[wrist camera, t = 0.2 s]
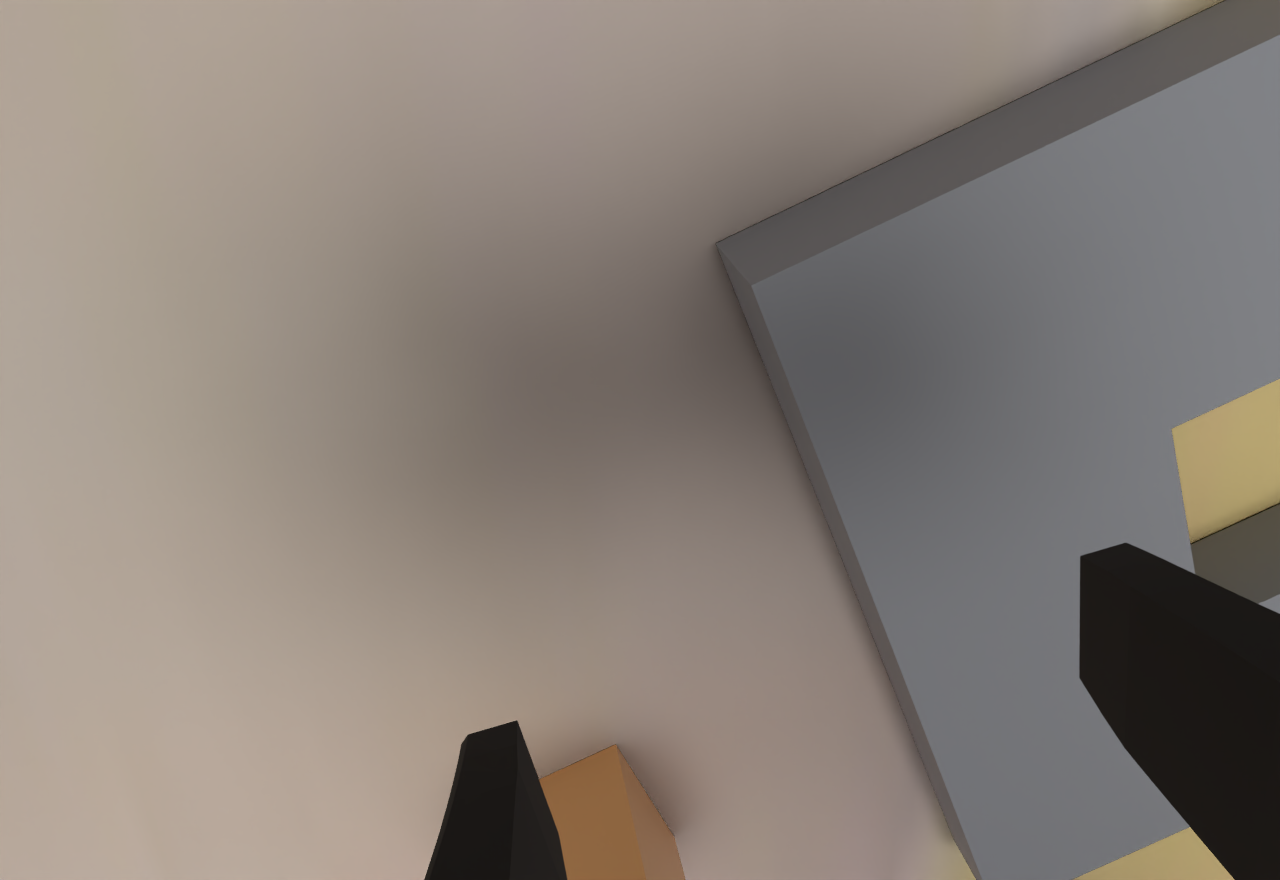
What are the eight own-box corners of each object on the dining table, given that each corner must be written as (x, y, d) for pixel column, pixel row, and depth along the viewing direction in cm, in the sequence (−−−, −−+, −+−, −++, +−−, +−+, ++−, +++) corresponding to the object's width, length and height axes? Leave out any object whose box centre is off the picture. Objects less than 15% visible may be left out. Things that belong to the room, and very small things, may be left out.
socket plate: (1593, 551, 29) (1686, 604, 27) (953, 839, 30) (995, 913, 28) (1671, -213, 19) (1829, -226, 17) (715, 243, 20) (751, 285, 18)
